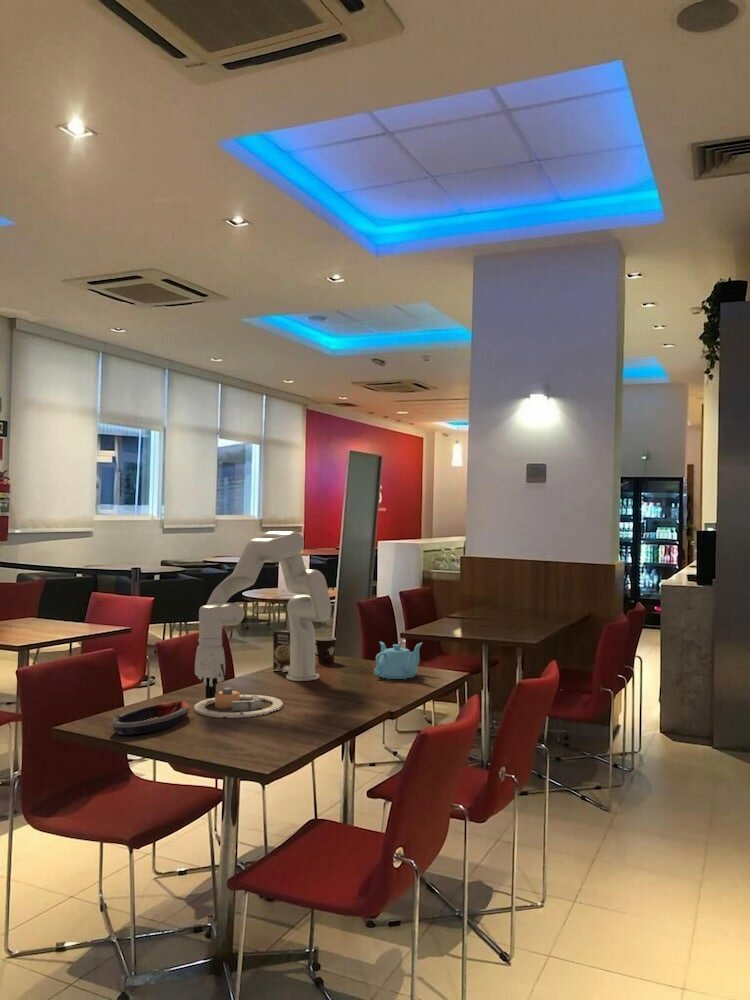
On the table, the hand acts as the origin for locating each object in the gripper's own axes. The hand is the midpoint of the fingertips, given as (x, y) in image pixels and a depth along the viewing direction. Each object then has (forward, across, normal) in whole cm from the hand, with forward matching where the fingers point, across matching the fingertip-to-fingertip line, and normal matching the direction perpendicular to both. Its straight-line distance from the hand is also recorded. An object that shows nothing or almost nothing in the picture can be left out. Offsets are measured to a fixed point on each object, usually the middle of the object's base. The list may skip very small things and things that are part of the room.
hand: (210, 697), depth 272 cm
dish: (+2, +6, -30) cm, 30 cm away
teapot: (+2, +32, +70) cm, 77 cm away
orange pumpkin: (+2, +7, 0) cm, 8 cm away
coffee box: (+2, -12, +56) cm, 57 cm away
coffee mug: (+2, -10, +78) cm, 79 cm away
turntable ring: (+2, +12, 0) cm, 12 cm away
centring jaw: (+2, +17, 0) cm, 17 cm away
